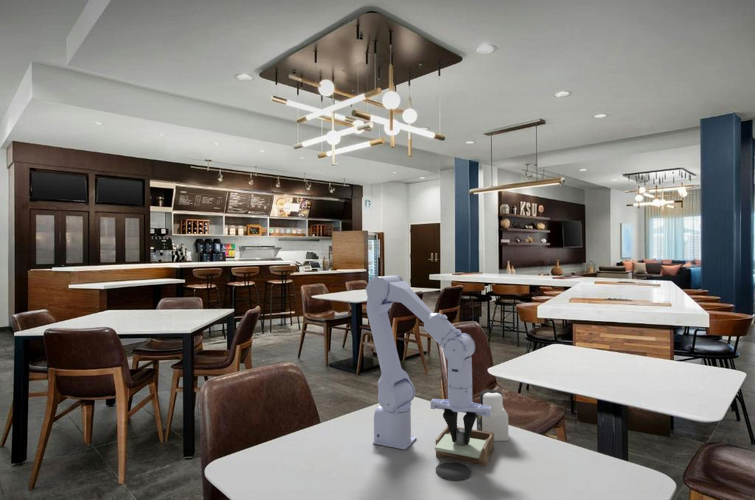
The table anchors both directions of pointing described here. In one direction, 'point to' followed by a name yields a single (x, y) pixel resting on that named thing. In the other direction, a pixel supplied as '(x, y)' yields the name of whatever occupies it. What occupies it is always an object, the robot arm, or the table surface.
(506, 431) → the medicine bottle
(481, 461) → the walnut box
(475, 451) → the cover plate
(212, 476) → the table surface
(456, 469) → the rubber coaster
